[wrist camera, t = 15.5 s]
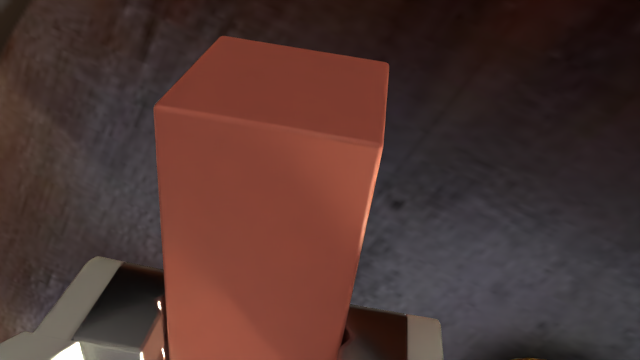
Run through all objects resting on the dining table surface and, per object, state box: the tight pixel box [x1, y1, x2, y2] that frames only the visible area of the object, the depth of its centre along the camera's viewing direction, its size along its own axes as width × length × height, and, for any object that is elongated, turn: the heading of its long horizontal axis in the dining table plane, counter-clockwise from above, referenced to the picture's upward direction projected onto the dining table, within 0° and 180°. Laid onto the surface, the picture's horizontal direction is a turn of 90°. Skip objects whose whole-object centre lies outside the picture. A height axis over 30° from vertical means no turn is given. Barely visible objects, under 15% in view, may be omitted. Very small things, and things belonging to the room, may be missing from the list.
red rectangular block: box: [154, 36, 389, 360], centre depth 9 cm, size 8×3×3 cm, turn 173°
